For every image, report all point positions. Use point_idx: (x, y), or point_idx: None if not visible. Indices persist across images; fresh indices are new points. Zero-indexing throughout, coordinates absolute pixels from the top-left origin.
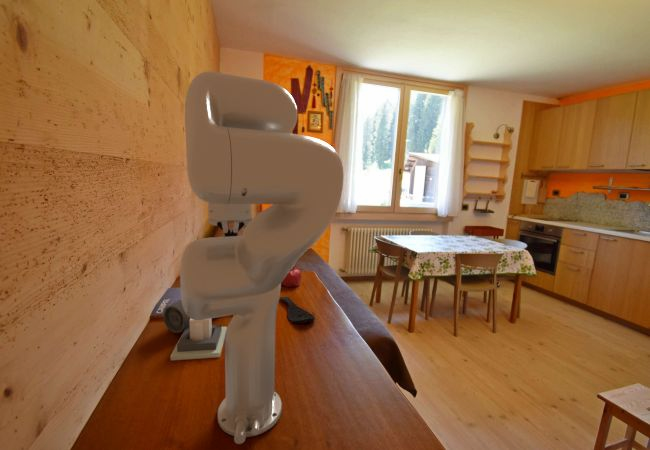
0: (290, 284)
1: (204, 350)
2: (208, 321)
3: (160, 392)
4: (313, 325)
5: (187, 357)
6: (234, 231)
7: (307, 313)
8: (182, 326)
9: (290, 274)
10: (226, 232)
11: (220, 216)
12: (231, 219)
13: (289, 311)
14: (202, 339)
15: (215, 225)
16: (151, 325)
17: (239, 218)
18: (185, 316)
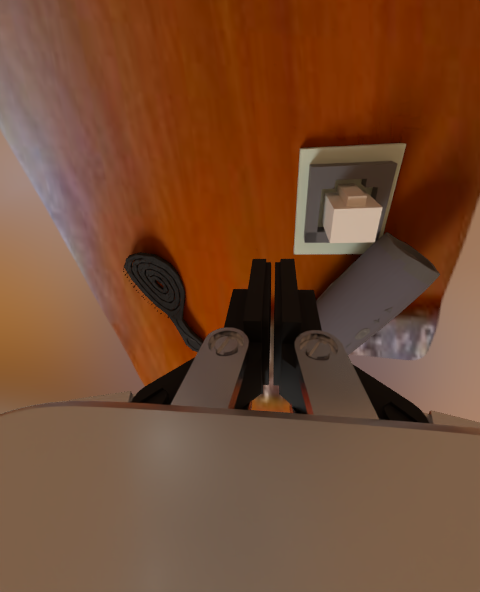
0: None
1: (333, 162)
2: (334, 207)
3: (421, 2)
4: (130, 252)
5: (367, 145)
6: (237, 342)
7: (147, 292)
8: (388, 234)
9: None
10: (308, 333)
11: (474, 514)
12: (237, 429)
13: (180, 301)
14: (341, 187)
15: (437, 414)
16: (443, 282)
17: (98, 437)
18: (389, 246)
